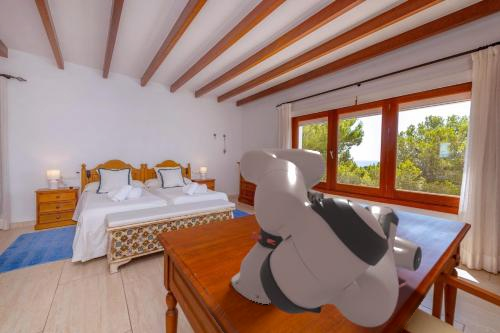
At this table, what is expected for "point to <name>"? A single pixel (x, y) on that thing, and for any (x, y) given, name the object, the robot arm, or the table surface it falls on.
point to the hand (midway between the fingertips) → (334, 227)
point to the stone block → (314, 195)
